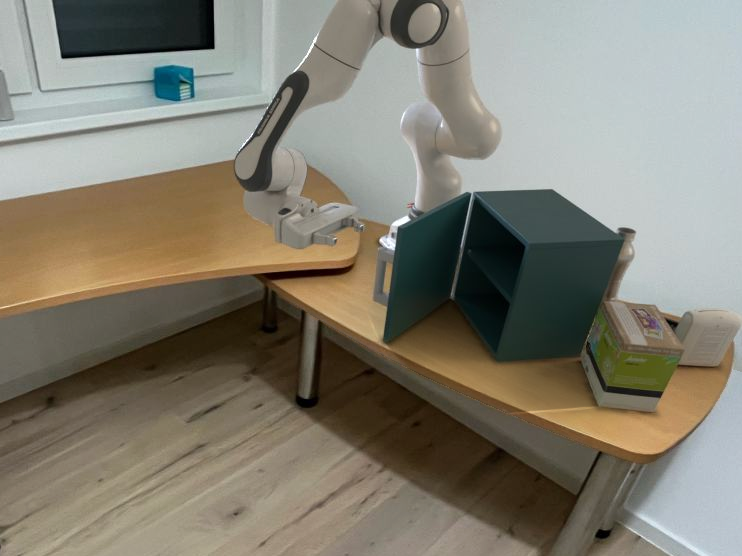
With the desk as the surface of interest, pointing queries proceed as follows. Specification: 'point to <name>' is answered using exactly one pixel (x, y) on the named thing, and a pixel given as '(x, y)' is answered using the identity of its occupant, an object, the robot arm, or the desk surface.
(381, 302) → the fridge door
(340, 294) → the desk surface
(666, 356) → the tea box
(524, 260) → the box
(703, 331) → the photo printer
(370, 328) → the desk surface
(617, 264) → the beige vase
